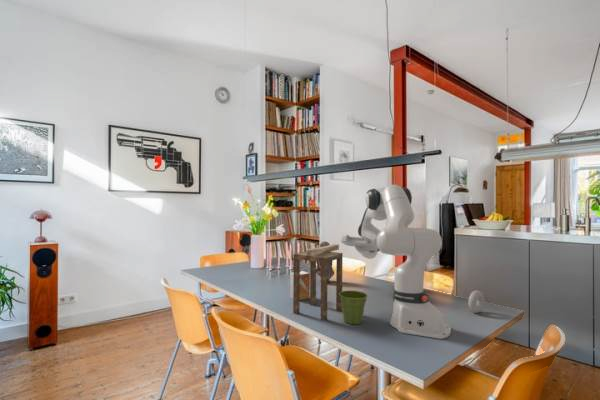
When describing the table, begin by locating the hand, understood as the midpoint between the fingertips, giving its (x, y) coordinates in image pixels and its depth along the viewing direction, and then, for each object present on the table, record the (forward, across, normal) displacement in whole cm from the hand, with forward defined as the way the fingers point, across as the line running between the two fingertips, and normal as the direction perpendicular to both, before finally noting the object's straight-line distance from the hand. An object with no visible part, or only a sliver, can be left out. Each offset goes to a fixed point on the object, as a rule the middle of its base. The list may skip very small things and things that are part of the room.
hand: (355, 237), depth 171 cm
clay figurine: (-28, -25, +22) cm, 44 cm away
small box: (+6, -21, +37) cm, 43 cm away
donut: (-15, +57, +26) cm, 65 cm away
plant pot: (+21, +14, +43) cm, 50 cm away
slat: (+24, -4, +16) cm, 29 cm away
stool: (+18, -4, +42) cm, 46 cm away
